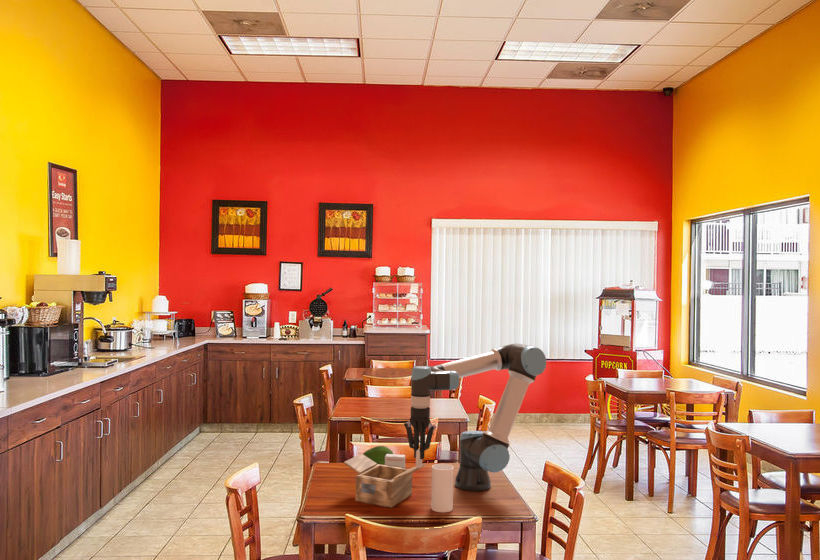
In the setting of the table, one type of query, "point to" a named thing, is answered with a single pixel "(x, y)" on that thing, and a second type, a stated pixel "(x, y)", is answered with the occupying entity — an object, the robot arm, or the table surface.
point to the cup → (442, 488)
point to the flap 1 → (360, 463)
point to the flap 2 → (408, 472)
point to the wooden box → (383, 486)
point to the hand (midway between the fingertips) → (418, 466)
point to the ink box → (395, 460)
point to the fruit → (378, 454)
